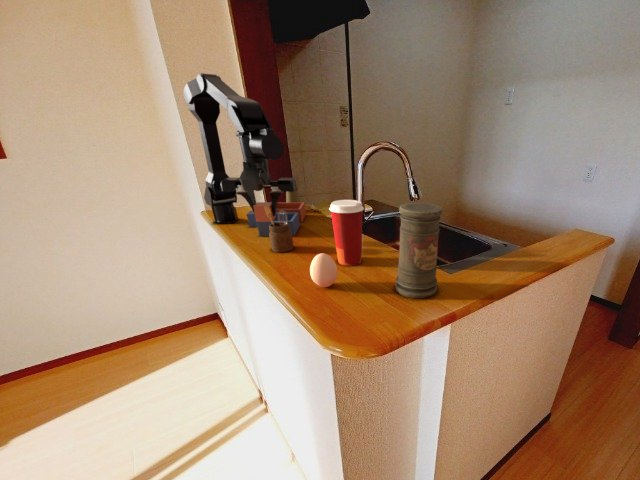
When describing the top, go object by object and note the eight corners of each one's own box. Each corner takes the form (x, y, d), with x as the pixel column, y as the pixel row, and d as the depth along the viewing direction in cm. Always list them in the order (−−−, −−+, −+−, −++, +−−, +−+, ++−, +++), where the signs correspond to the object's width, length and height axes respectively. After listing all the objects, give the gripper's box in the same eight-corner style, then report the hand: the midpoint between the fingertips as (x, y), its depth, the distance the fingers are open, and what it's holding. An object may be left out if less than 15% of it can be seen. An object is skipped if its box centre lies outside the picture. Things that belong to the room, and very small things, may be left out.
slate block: (249, 226, 107) (246, 213, 105) (253, 223, 111) (250, 210, 108) (262, 226, 107) (260, 213, 105) (266, 223, 111) (263, 210, 109)
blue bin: (259, 236, 99) (256, 221, 97) (267, 226, 108) (265, 212, 106) (294, 235, 100) (292, 221, 98) (299, 226, 109) (298, 212, 107)
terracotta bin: (271, 222, 112) (268, 209, 109) (277, 214, 121) (275, 202, 119) (301, 222, 113) (300, 209, 111) (306, 214, 122) (304, 202, 120)
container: (387, 288, 70) (387, 205, 61) (415, 276, 76) (419, 199, 67) (417, 303, 65) (422, 215, 56) (444, 290, 70) (453, 207, 61)
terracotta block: (256, 221, 90) (253, 205, 88) (260, 217, 94) (257, 202, 91) (272, 221, 90) (269, 205, 88) (276, 217, 94) (273, 202, 92)
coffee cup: (370, 257, 86) (368, 200, 78) (358, 269, 79) (355, 208, 71) (341, 253, 88) (337, 197, 80) (327, 265, 81) (321, 205, 73)
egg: (343, 286, 70) (341, 254, 67) (320, 294, 67) (316, 261, 63) (329, 278, 74) (326, 247, 70) (307, 285, 71) (302, 253, 67)
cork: (285, 209, 128) (281, 181, 122) (300, 208, 130) (297, 180, 124) (287, 213, 123) (283, 183, 117) (303, 212, 125) (299, 182, 120)
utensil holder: (285, 254, 86) (278, 209, 80) (266, 250, 88) (257, 207, 82) (298, 247, 91) (292, 204, 85) (279, 244, 93) (272, 202, 87)
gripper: (204, 159, 76) (221, 224, 84) (285, 160, 78) (294, 223, 86) (221, 155, 85) (235, 213, 93) (293, 156, 87) (300, 212, 95)
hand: (265, 215), depth 91 cm, fingers closed on terracotta block, 4 cm apart
